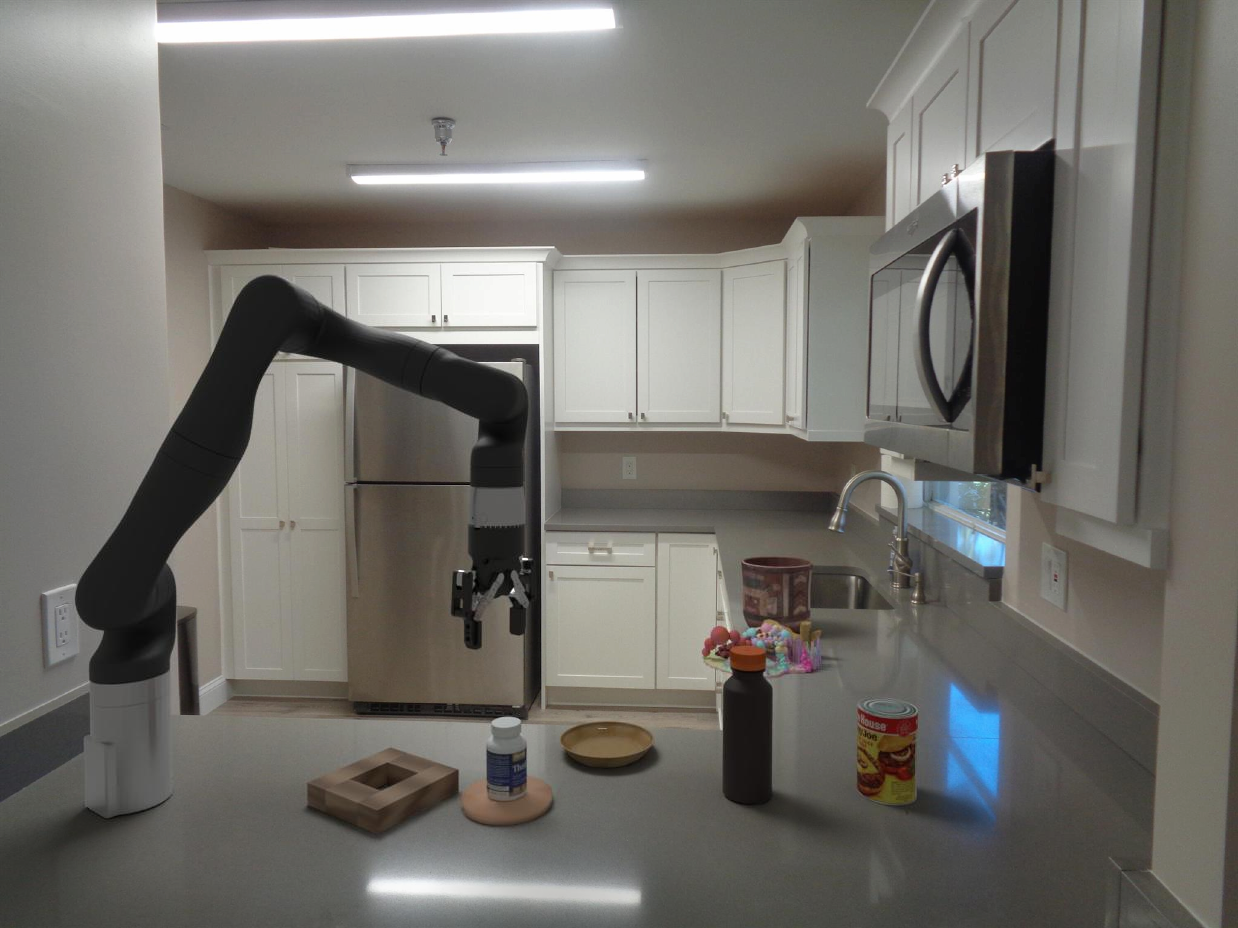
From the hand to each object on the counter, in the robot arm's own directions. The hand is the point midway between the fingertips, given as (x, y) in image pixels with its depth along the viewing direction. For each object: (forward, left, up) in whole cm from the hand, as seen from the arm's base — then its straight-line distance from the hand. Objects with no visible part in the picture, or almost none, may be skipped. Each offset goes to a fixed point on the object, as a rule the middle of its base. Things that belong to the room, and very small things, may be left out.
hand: (495, 641), depth 103 cm
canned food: (+32, -43, -22) cm, 58 cm away
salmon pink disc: (+1, -1, -22) cm, 22 cm away
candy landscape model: (+81, -5, -22) cm, 84 cm away
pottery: (+107, +2, -22) cm, 109 cm away
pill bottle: (+1, -1, -21) cm, 21 cm away
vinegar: (+21, -27, -22) cm, 41 cm away
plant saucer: (+22, -3, -22) cm, 31 cm away
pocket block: (-7, +14, -22) cm, 27 cm away
